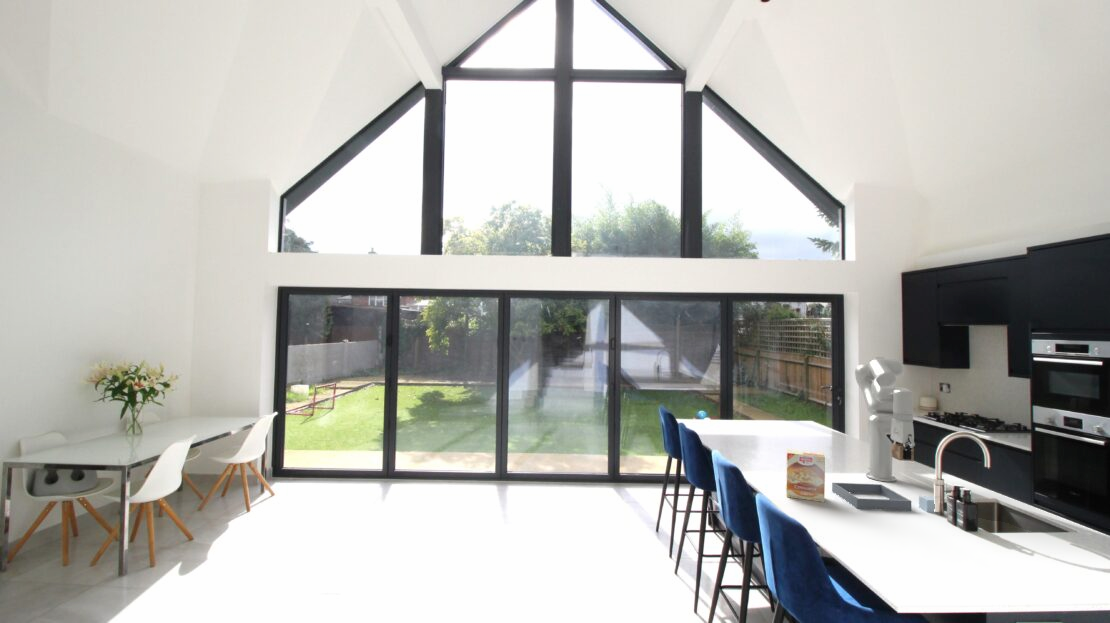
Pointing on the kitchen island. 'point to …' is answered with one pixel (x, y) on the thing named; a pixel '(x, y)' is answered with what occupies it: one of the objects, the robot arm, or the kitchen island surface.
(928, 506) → the pale blue box
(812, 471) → the coffeecake box
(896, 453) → the walnut block
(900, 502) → the grey square tray
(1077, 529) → the kitchen island surface
